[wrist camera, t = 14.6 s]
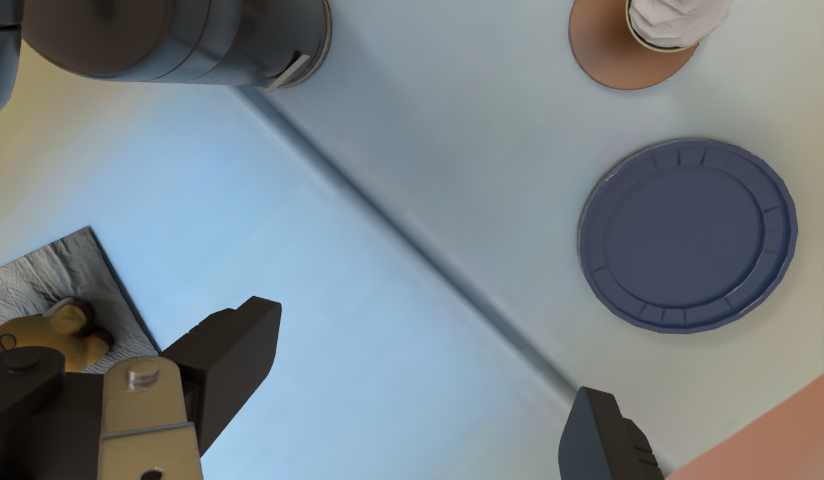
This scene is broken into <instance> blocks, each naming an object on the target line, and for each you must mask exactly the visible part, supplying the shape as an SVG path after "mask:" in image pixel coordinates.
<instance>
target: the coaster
mask: <svg viewBox="0 0 824 480" xmlns="http://www.w3.org/2000/svg"><path fill="white" fill-rule="evenodd" d="M626 1H627V0H575V2H574V5H573V7H572V10H571V15H570V20H569V40H570V46H571V49H572V53H573V55H574V57H575V59H576V61H577V63H578V64H579V66H580V67H581V68H582V70H583V71H584V72H585V73H586V74H587V75H588V76H589V77H590V78H592V79H593V80H595V81H596V82H598V83H600V84H602V85H604V86H607V87H610V88H614V89H620V90H635V89H642V88H646V87H650V86H653V85H655V84H658V83H660V82H662V81H664V80H666V79H667V78H669V77H670V76H672V75H673V74H675V73H676V72H677V71H678V70H679V69H681V68H682V66H683V65H684V64H685V63H686V62H687V61H688V60H689V59H690V57H691V56H692V55H693V53H694V51H695V50H696V48H697V46H698V44H699V42H698V43H697V44H695V45H693V46H692V47H689V48H687V49H685V50H681V51H677V52H668V53H666V52H658V51H654V50H651V49H649V48H647V47H645V46H643V45H642V44H641V43H640V42H639V41H637V39H636V38H635V37H634V36H633V34H632V33H631V31H630V29H629V26H628V23H627V19H626Z"/></svg>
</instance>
